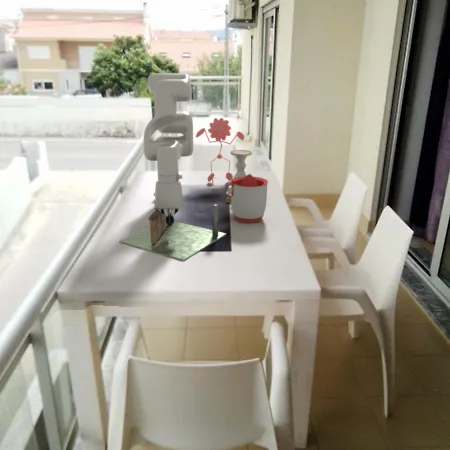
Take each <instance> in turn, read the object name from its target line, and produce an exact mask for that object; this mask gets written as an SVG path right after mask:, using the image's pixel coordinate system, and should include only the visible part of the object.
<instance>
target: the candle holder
mask: <svg viewBox="0 0 450 450" xmlns="http://www.w3.org/2000/svg"><path fill="white" fill-rule="evenodd" d="M229 152H230V155H232V156H234V157H235V159H236V161H237V162H236V164H235V167H236V170H237V171H236V173H235V174H234V176H233V179H234V178H237V177H245V176H247V175H248V174H247V173H246V171H245V169H246V167H247V164H246V159H247V157H249V156H252V155H253V152H252V151H250V150H247V149H233V150H231V151H229ZM225 202H226V203H228V204H231V194H227V197H226V198H225Z"/></svg>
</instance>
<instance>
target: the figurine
mask: <svg viewBox="0 0 450 450" xmlns="http://www.w3.org/2000/svg"><path fill="white" fill-rule="evenodd" d="M229 122H230V120H227V119H225V120H224V118H223V117H220V118H219V119H218V118H217V117H214V119H213V122H210V123H209V127H210V128H208V129H207V131H208V133H209V134H210V135H209V136H210V138H211V139H215V140H213V141H210V138H209V136H208V133H207V131H206V128H205V127H203V128H201V129H200V130H198V131H197V133H196V134H195V138H198V137H201V136H202V135H203V134H204V133H205V135H206V138H207V141H208V143H217V142H218V143H220V149H219V153H217V156H216V157H215V158H214V159H212V161H211V163H213V162H214V161H215V160H216V159H218V160H220V159H224V160H226V161H228V162H229V164H228V170H230V167H231V161H230V159H229V160H228V159H227V158H225V157H223V155H222V153H221V151H222V147H223V143H225V144H228V145H231V144H232V143H233V142H234V140H235V139H236V138H238V139H239V140H241V141H244V139H245V135H244V134H243V133H242V132H241V131H238V132H237V133H236V135H235V136H234V138H233V139H232V140H231V141H230V142H227V141H226V139H227V137H231V135H232V134H231V130H232V127H231V126H230V125H229ZM212 167H213V166H212V164H210V171H211V173H210V174H209V175H208V177H207V182H208V183H209V182H212V185H213V186H214V179H215V173H214V172H213V168H212ZM233 177H234V176H233V174H232V173H231V172H230V171H227V172H226V174H225V179H227V181H228V185H231V183H230V182H231V180H232V179H233Z"/></svg>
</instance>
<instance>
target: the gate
mask: <svg viewBox="0 0 450 450" xmlns="http://www.w3.org/2000/svg"><path fill="white" fill-rule="evenodd" d="M167 210H168V209H167ZM148 220H149V227H150V234H151V243H156V242H157V240H158V239H159V237H160V236H161V234H162V233H163V232H164V230H165V229H166V227H167V226H168V224H166V216H165V215H164V214H163V213H162V212H160V211H155V210H154V211H153V212H151V214H150V216H149V217H148Z"/></svg>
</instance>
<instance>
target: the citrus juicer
mask: <svg viewBox="0 0 450 450" xmlns="http://www.w3.org/2000/svg"><path fill="white" fill-rule="evenodd" d="M246 175H247V176H245V177H237V178H234V179H232V180H231V181H230V182H231V183H230V186H231V187H229V188H228V189H226V195H229V194H231V203H230V204H231V210H232V215H233V217H234V220H235V221H237V222H239V223H246V224H247V223H248V224H251V223H254V224H255V223H259V222H260V221H262V219H263V217H264V214H265V212H266V207H267V203H268V202H267V200H268V196H267V195H268V184H269V181H268V180H267V179H265V178H263V177H259V176H253V175H252V174H251V173H249V174H246Z"/></svg>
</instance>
